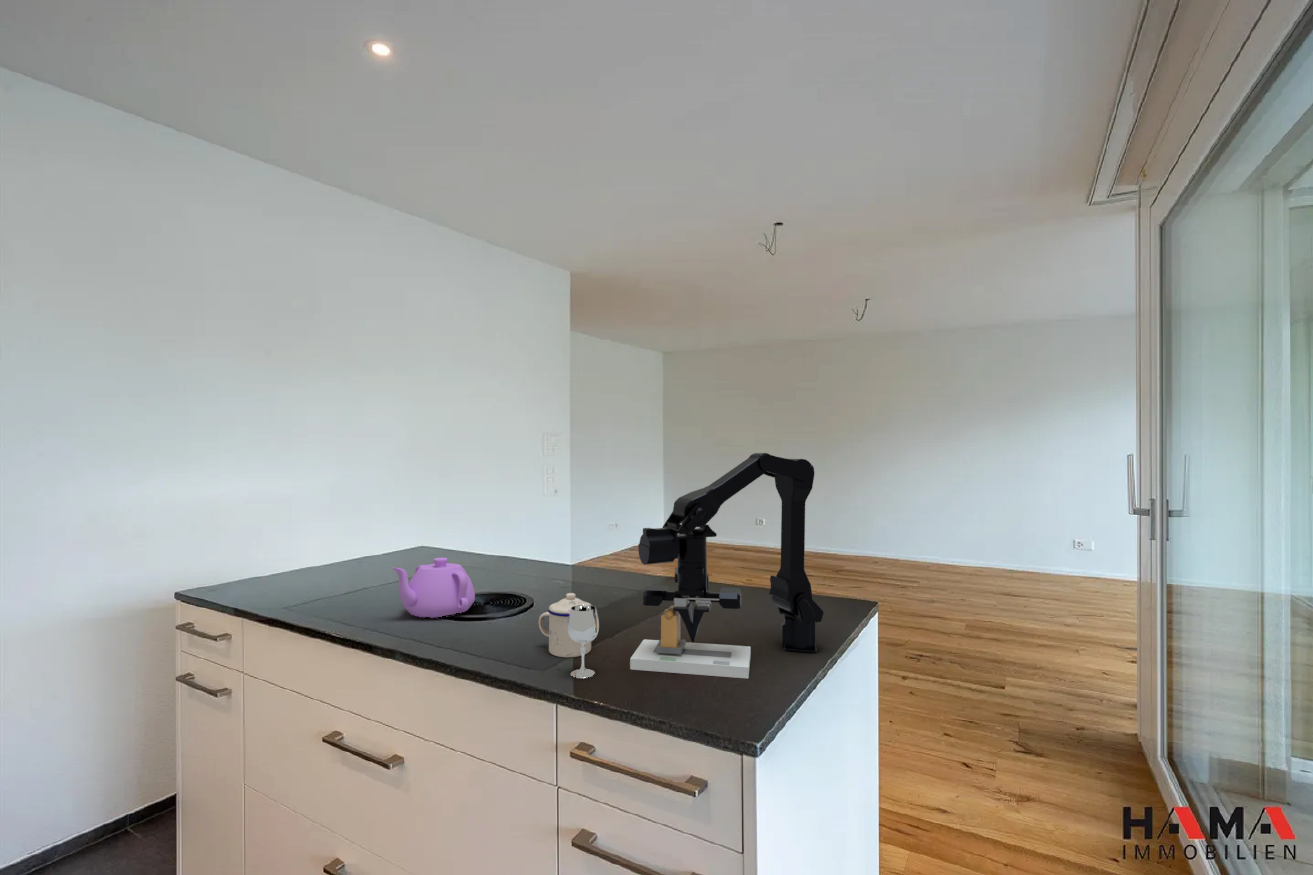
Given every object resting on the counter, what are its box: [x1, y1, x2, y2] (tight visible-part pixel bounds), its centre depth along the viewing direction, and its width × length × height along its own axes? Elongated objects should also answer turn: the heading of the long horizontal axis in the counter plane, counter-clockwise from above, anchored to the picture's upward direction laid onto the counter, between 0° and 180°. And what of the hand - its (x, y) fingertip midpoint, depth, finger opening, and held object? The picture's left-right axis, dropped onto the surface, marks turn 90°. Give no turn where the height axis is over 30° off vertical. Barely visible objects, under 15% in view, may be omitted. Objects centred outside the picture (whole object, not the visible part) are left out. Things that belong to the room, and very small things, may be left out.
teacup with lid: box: [538, 592, 592, 658], centre depth 121 cm, size 12×9×12 cm
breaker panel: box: [629, 639, 752, 679], centre depth 114 cm, size 22×12×2 cm, turn 79°
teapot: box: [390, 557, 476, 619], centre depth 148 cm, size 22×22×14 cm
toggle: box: [655, 605, 687, 654], centre depth 115 cm, size 5×6×8 cm
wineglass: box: [568, 604, 600, 679], centre depth 108 cm, size 6×6×12 cm
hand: (693, 641), depth 114 cm, fingers closed
